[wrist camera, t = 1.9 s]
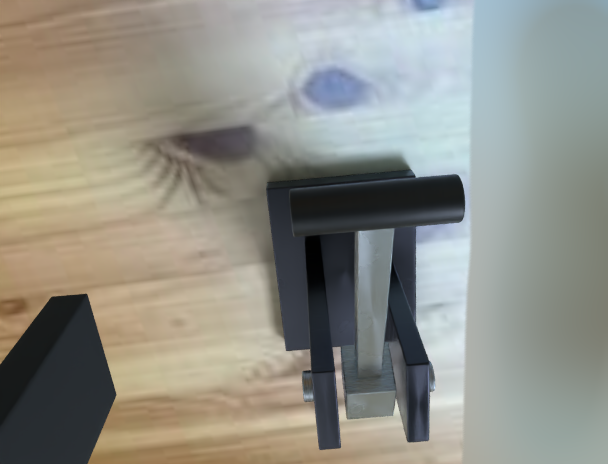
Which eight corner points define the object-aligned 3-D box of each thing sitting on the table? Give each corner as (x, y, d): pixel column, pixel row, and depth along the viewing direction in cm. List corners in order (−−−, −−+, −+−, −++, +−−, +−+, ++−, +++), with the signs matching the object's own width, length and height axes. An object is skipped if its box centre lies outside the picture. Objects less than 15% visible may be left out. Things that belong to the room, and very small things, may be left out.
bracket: (266, 182, 34) (252, 299, 21) (411, 169, 34) (482, 280, 21) (286, 341, 39) (283, 511, 26) (412, 330, 39) (470, 497, 26)
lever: (287, 168, 17) (290, 227, 15) (452, 153, 17) (473, 211, 15) (313, 375, 27) (317, 422, 26) (413, 366, 27) (423, 413, 26)
